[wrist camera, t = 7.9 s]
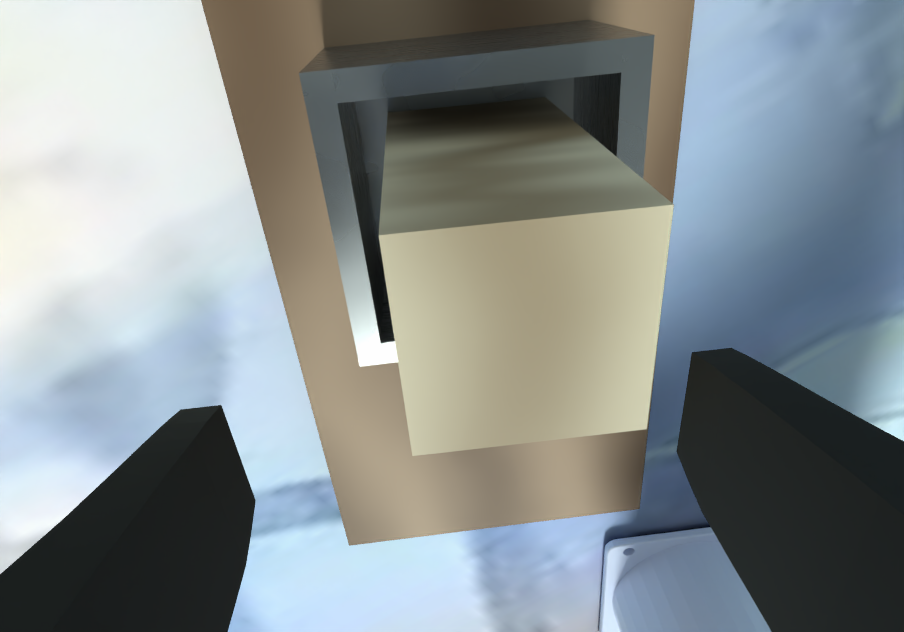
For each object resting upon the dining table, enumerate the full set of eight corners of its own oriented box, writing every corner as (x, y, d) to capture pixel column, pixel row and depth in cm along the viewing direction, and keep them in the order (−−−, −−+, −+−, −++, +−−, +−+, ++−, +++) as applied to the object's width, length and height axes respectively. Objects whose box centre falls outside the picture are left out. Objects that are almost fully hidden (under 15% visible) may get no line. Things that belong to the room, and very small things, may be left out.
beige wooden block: (545, 97, 15) (673, 204, 8) (545, 242, 17) (646, 428, 10) (387, 112, 15) (379, 235, 8) (406, 257, 17) (412, 456, 10)
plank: (690, -167, 14) (714, -178, 13) (629, 486, 25) (639, 508, 24) (185, -116, 14) (167, -124, 13) (351, 521, 25) (349, 545, 24)
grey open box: (589, 19, 15) (654, 35, 11) (583, 260, 18) (630, 334, 14) (324, 48, 15) (298, 73, 11) (367, 285, 18) (359, 366, 14)
